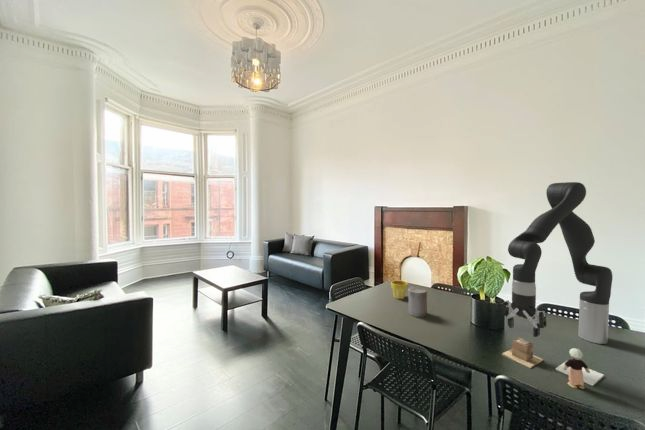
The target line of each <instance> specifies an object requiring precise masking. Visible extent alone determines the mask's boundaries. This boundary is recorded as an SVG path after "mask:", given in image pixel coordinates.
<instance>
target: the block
mask: <svg viewBox="0 0 645 430" xmlns="http://www.w3.org/2000/svg"><path fill="white" fill-rule="evenodd" d="M511 343H512V344H511V346H512V347H511V349H512V355H513V356H515V357H517V358H519V359H522V360H524V361H526V362H527V361H528V360H530V359H532V358H533V355H534V342H532V341H529V340H527V339H524V338H522V337H517V338H515V339H513V340H512V342H511Z"/></svg>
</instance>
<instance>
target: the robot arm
mask: <svg viewBox="0 0 645 430" xmlns="http://www.w3.org/2000/svg"><path fill="white" fill-rule="evenodd" d="M586 195H587V188H586V187H585V185H584V184H583V183H582V182H577V181H573V182H571V181H570V182H569V181H567V182H555V183H550V184H549V185H548V186H547V189H546V198H547V201H548V204H549V206H550V207H551V209H549V210H547V211H545V212H543V213H541V214H540V215H539V216H537V217H536V218H535V219H534V220H533V221H532V222H531V223H530V225H529V226H528V227H526V230H524V231H523V232H522V233H520V234H519V235H517V236H516V237H515V238H513V239H512V240H511V241H510V243H509V244H508V246H507V247H508V248H507V252H508V254H509V255H510V256H511V257H513V258H515V259H522V260H524V262H523V263H520V264H519V263H518V264H514V265H513V266H512V282H511V283H512V284H511V302H510V300H504V301H503V302H502V316H505V317H506V318H507V326H508V328H509V329H513V328H514V327H515V325H514V324H515V323H514V322H515V318H514V317H515V316H517V317H520V318H523V319H526V320H527V319H528V321H529V323H531V324H532V326H533V328H532V329H533V330H532V331H533V332H532V333H533V337H534V338H537V337H539V336H540V335H541V329H544V328H546V327H547V312H546V311H545V310H542V311H541V310H538V309H537V308H536V305H537V304H536V303H537V302H536V301H537V299H536V297H537V287H536V286H537V285H536V272H537V268H538V265H539V263H540V260H541V257H542V253H543V252H542V248H541V246H540V245H539V244H542V243H544V242H545V241H546V240H547V239H548V237H549V236H550V235H551V234H552V232H553V231H554V229H555V228H556V227H557V226H558V225H559V227H560V230H561V232H562V233H561V234H562V236H563V240H564V241H565V243H566V246H567V249H568V251H569V252H568V253H569V254H570V255H569V256H570V257H571V263H572V267H573V272H574V275H575V278H576V280H577V281H578V282H579V283H580V284H583V285H588V286H592V287H595V290H592V291H589V290H588V291H581V292H580V294H579V309H578V312H579V313H578V334H577V335H578V337H579V338H581V339H582V340H585V341H586V342H591V343H594V344H601V345H605V344H608V339H609V338H608V337H609V315H610V299H611V294H612V285H613V272H612V270H611V268H609V267H607V266H604V265H603V266H602V265H597V264H591V263H588V260H587V255H588V253H589V252H590V251H591V250H592V249H593V247H594V245H595V242H596V241H595V236H594V233H593V230H592V228H591V226H590V225H589V224H588V223H587V222H586V221H585V220H584V219H582V218H581V217H580V216H579V215H577V214H576V213H575V212H573V211H574V210H575V209H576V208H578V206H579V205H581V204H582V203H583V202H584V199H585V198H586ZM510 307H511V309H512V311H511V312H510ZM509 312H510V313H509ZM537 317H538V318H537Z"/></svg>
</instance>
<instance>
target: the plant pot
mask: <svg viewBox="0 0 645 430" xmlns="http://www.w3.org/2000/svg"><path fill="white" fill-rule="evenodd" d="M390 287H391V290H392V293H393V298H394V299H397V300H403V299H405V296H406V292H407V290H408V288H409V287H408V282H407V281H406V280H405V281H404V280H398V279H397V280H395V279H394V280H392V281H390Z"/></svg>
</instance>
